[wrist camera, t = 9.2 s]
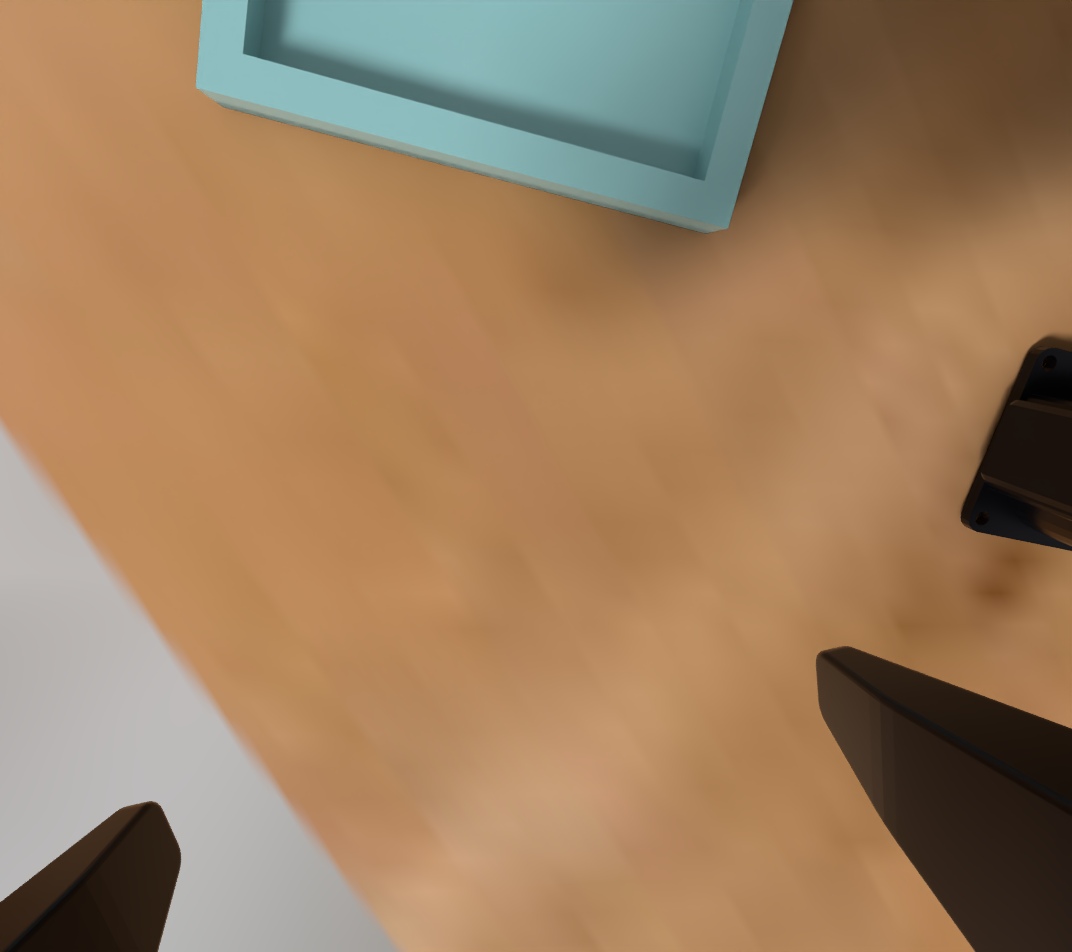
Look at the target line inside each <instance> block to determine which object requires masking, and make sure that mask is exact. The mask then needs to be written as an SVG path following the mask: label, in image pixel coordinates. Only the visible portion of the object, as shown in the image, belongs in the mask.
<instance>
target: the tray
mask: <svg viewBox="0 0 1072 952" xmlns="http://www.w3.org/2000/svg"><path fill="white" fill-rule="evenodd" d="M792 3H793V0H203V3H202V16H201V28H200V41H199V53H198V66H197V78H196V88H197V89H199V90H200V91H201V92H203V93H204V94H206V95H207V96H208V97H210V98H211V99H213V100H214V101H215V102H217V103H218V104H219V105H221V106H222V107H225V108H229V109H233V110H237V111H240V112H244V113H248V114H252V115H256V116H259V117H263V118H267V119H271V120H275V121H278V122H282V123H286V124H290V125H294V126H298V127H301V128H305V129H309V130H313V131H317V132H320V133H324V134H328V135H332V136H336V137H339V138H343V139H347V140H351V141H355V142H358V143H362V144H366V145H370V146H374V147H378V148H381V149H385V150H389V151H393V152H397V153H400V154H404V155H408V156H412V157H416V158H419V159H423V160H427V161H431V162H435V163H439V164H442V165H446V166H450V167H454V168H458V169H461V170H465V171H469V172H473V173H477V174H480V175H484V176H488V177H492V178H496V179H500V180H503V181H507V182H511V183H515V184H519V185H522V186H526V187H530V188H534V189H538V190H541V191H545V192H549V193H553V194H557V195H561V196H564V197H568V198H572V199H576V200H580V201H583V202H587V203H591V204H595V205H599V206H602V207H606V208H610V209H614V210H618V211H621V212H625V213H629V214H633V215H637V216H641V217H644V218H648V219H652V220H656V221H660V222H663V223H667V224H671V225H675V226H679V227H682V228H686V229H690V230H694V231H698V232H702V233H705V234H706V233H710V232H715V231H719V230H724V229H728V227H729V223H730V220H731V216H732V213H733V209H734V206H735V202H736V199H737V195H738V192H739V188H740V185H741V181H742V178H743V174H744V171H745V167H746V164H747V160H748V157H749V153H750V150H751V146H752V143H753V139H754V136H755V132H756V129H757V125H758V122H759V118H760V115H761V111H762V108H763V104H764V101H765V98H766V94H767V91H768V87H769V84H770V80H771V77H772V73H773V70H774V66H775V63H776V59H777V56H778V52H779V49H780V45H781V42H782V38H783V35H784V31H785V28H786V24H787V21H788V17H789V14H790V10H791V7H792Z"/></svg>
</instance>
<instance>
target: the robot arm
mask: <svg viewBox="0 0 1072 952" xmlns="http://www.w3.org/2000/svg"><path fill="white" fill-rule="evenodd" d="M1045 358H1046V364H1045V365H1044V367H1042V362H1043V360H1044V359H1045ZM979 513H981V515H980V517H979V519H977V520H976V517H977V515H978V514H979ZM975 520H976V521H975ZM961 522H962V523H963V525H964V526H966V527H968V528H970V529H972V530H974V531H976V532H981V533H986V534H991V535H996V536H1001V537H1006V538H1011V539H1016V540H1021V541H1026V542H1031V543H1035V544H1040V545H1045V546H1050V547H1055V548H1060V549H1065V550H1070V551H1072V352H1069V351H1065V350H1062V349H1058V348H1051V347H1038V348H1036V349H1034V350H1033V351H1031V352H1030V353H1029V355H1028V357H1027V358H1026V360H1025V363H1024V365H1023V367H1022V370H1021V372H1020V375H1019V377H1018V379H1017V382H1016V384H1015V387H1014V389H1013V391H1012V394H1011V396H1010V398H1009V401H1008V403H1007V406H1006V408H1005V410H1004V413H1003V415H1002V417H1001V420H1000V422H999V425H998V427H997V429H996V432H995V434H994V437H993V439H992V441H991V444H990V446H989V448H988V451H987V453H986V456H985V458H984V460H983V463H982V465H981V467H980V470H979V472H978V475H977V477H976V479H975V482H974V484H973V487H972V489H971V491H970V494H969V496H968V498H967V501H966V503H965V506H964V508H963V510H962V513H961ZM816 671H817V685H818V700H819V706H820V710H821V713H822V716H823V718H824V720H825V722H826V724H827V726H828V728H829V729H830V731H831V733H832V734H833V736H834V738H835V740H836V741H837V743H838V745H839V747H840V748H841V750H842V752H843V754H844V755H845V757H846V759H847V761H848V762H849V764H850V766H851V768H852V769H853V771H854V773H855V775H856V776H857V778H858V780H859V782H860V783H861V785H862V787H863V788H864V790H865V792H866V794H867V795H868V797H869V799H870V801H871V802H872V804H873V806H874V808H875V809H876V811H877V813H878V814H879V816H880V817H881V819H882V821H883V822H884V824H885V825H886V827H887V828H888V830H889V831H890V833H891V834H892V836H893V837H894V839H895V840H896V842H897V843H898V844H899V846H900V847H901V849H902V850H903V851H904V853H905V854H906V856H907V857H908V858H909V860H910V861H911V863H912V864H913V865H914V867H915V868H916V870H917V871H918V872H919V874H920V875H921V877H922V878H923V879H924V881H925V882H926V884H927V885H928V886H929V888H930V889H931V891H932V892H933V893H934V895H935V896H936V897H937V899H938V900H939V902H940V903H941V904H942V906H943V907H944V909H945V910H946V911H947V913H948V914H949V916H950V917H951V918H952V920H953V921H954V923H955V924H956V925H957V927H958V928H959V930H960V931H961V932H962V934H963V935H964V937H965V938H966V939H967V941H968V942H969V944H970V945H971V946H972V948H973V949H974V951H975V952H1072V729H1071V728H1068V727H1066V726H1063V725H1060V724H1058V723H1055V722H1052V721H1049V720H1047V719H1044V718H1041V717H1039V716H1036V715H1033V714H1031V713H1028V712H1025V711H1022V710H1020V709H1017V708H1014V707H1012V706H1009V705H1006V704H1004V703H1001V702H998V701H995V700H993V699H990V698H987V697H985V696H982V695H979V694H977V693H974V692H971V691H969V690H966V689H963V688H960V687H958V686H955V685H952V684H950V683H947V682H944V681H942V680H939V679H936V678H933V677H931V676H928V675H925V674H923V673H920V672H917V671H915V670H912V669H909V668H906V667H904V666H901V665H898V664H896V663H893V662H890V661H888V660H885V659H882V658H879V657H877V656H874V655H871V654H869V653H866V652H863V651H861V650H858V649H855V648H852V647H849V646H842V647H837V648H833V649H828V650H824V651H821V652H820V653H819V654H818V655H817V658H816ZM180 865H181V852H180V848H179V845H178V843H177V840H176V838H175V836H174V834H173V832H172V829H171V827H170V825H169V823H168V820H167V818H166V816H165V814H164V812H163V809H162V808H161V806H160V805H159V804H158V803H156V802H152V801H149V802H144V803H140V804H135V805H131V806H127V807H123V808H121V809H119V810H118V811H116V812H115V813H114V814H113V815H111V816H110V817H109V818H108V819H106V820H105V821H104V822H102V823H101V824H100V825H99V826H97V827H96V828H95V829H94V830H92V831H91V832H90V833H88V834H87V835H86V836H84V837H83V838H82V839H81V840H79V841H78V842H77V843H76V844H74V845H73V846H72V847H70V848H69V849H68V850H67V851H65V852H64V853H63V854H62V855H60V856H59V857H58V858H56V859H55V860H54V861H52V862H51V863H50V864H49V865H47V866H46V867H45V868H44V869H42V870H41V871H40V872H38V873H37V874H36V875H35V876H33V877H32V878H31V879H29V881H27V882H26V883H24V884H23V885H22V886H20V887H19V888H18V889H17V890H15V891H14V892H13V893H12V894H10V895H9V896H8V897H6V898H5V899H4V900H3V901H1V902H0V952H158V949H159V945H160V942H161V937H162V934H163V930H164V927H165V923H166V919H167V915H168V911H169V908H170V904H171V900H172V897H173V893H174V889H175V886H176V882H177V878H178V874H179V870H180Z"/></svg>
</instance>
